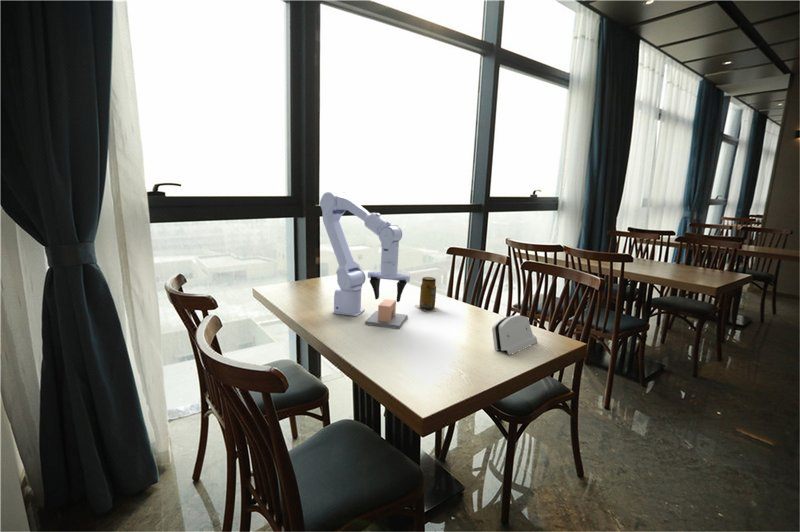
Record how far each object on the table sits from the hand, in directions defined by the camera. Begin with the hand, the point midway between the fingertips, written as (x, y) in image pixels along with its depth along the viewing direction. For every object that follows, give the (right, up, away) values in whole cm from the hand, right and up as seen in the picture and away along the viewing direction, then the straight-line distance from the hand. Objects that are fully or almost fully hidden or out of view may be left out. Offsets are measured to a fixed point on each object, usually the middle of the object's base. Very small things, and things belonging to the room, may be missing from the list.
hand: (387, 299), depth 132 cm
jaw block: (0, -6, +1) cm, 7 cm away
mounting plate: (0, -7, +1) cm, 8 cm away
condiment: (+15, -5, +18) cm, 24 cm away
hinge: (+39, -13, -15) cm, 44 cm away
